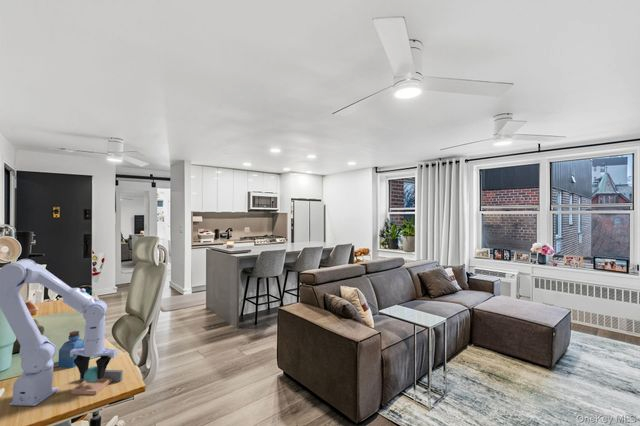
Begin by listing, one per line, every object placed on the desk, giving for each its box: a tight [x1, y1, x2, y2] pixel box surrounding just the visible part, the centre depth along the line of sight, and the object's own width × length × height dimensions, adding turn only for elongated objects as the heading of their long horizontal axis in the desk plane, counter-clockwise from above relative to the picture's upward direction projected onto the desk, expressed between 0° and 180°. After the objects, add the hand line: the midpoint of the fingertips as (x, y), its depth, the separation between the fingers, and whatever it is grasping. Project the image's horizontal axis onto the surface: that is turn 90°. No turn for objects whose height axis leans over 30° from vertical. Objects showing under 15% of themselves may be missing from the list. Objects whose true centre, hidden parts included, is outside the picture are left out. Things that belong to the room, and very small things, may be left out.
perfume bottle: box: [57, 330, 84, 369], centre depth 124 cm, size 6×6×12 cm
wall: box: [79, 369, 124, 383], centre depth 112 cm, size 1×14×4 cm, turn 92°
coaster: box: [70, 378, 113, 396], centre depth 108 cm, size 8×8×1 cm
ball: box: [84, 365, 98, 383], centre depth 108 cm, size 5×5×5 cm
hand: (92, 377), depth 108 cm, fingers closed on ball, 5 cm apart
